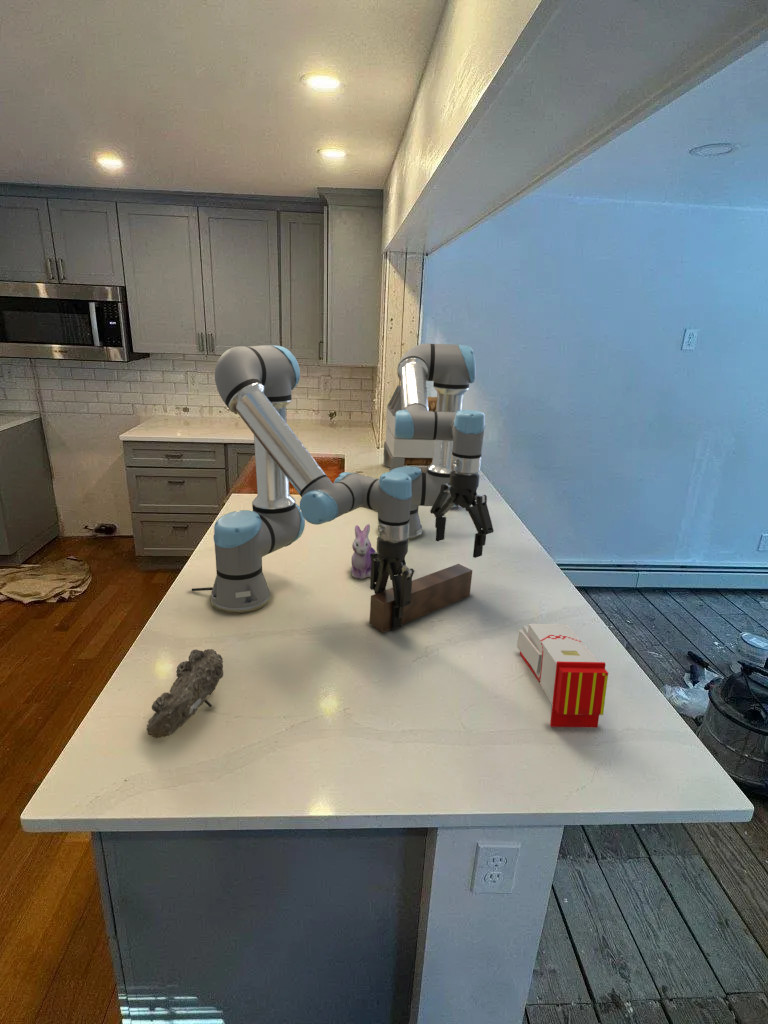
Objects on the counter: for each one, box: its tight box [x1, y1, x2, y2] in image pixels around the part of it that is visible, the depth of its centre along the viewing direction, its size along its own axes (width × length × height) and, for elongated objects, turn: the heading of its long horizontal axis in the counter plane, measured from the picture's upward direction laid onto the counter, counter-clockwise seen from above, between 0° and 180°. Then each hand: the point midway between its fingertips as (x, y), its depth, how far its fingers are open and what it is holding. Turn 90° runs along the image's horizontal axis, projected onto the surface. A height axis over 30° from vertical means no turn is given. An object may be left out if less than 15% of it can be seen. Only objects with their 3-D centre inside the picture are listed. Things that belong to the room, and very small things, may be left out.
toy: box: [516, 623, 609, 728], centre depth 121 cm, size 12×13×30 cm
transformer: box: [383, 384, 437, 472], centre depth 268 cm, size 34×33×41 cm
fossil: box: [146, 648, 224, 739], centre depth 109 cm, size 22×10×15 cm
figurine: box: [350, 523, 377, 580], centre depth 167 cm, size 9×10×15 cm
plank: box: [369, 563, 473, 634], centre depth 149 cm, size 32×5×8 cm, turn 131°
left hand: (388, 622), depth 143 cm, fingers closed on plank, 5 cm apart
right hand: (458, 548), depth 153 cm, fingers open, 13 cm apart
